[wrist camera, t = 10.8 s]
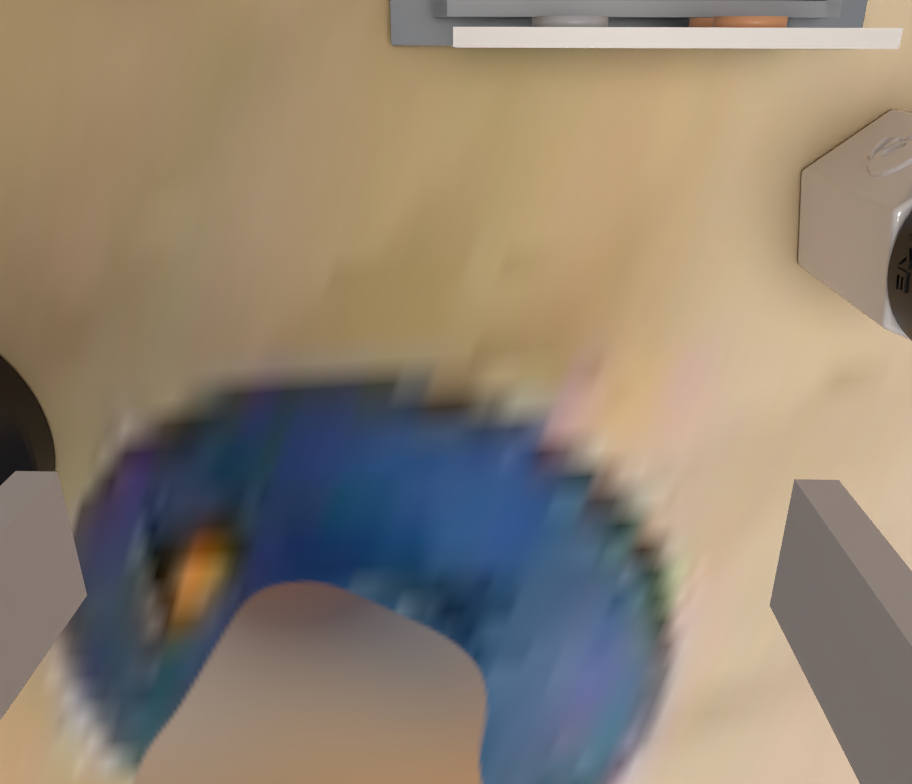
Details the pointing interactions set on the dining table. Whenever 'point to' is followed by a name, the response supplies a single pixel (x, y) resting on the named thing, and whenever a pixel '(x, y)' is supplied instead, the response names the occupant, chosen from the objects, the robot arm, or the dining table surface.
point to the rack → (638, 24)
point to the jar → (863, 221)
